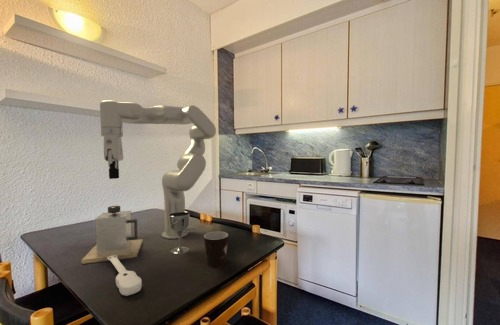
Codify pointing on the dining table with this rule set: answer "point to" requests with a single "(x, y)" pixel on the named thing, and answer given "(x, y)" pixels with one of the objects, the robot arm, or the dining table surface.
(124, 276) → the white toy guitar
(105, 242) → the press
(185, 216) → the wine glass
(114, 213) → the plunger
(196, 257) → the dining table surface
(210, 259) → the coffee mug
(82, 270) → the dining table surface
